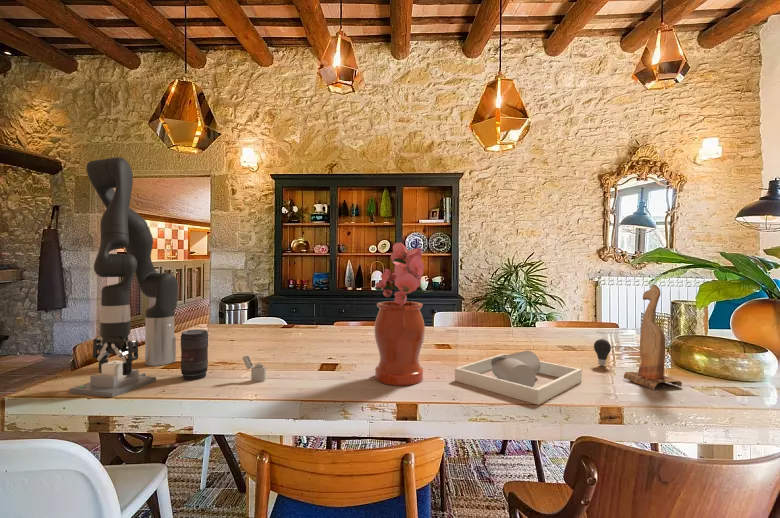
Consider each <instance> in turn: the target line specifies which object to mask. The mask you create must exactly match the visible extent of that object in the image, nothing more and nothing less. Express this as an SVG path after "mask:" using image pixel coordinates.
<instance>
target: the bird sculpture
mask: <svg viewBox="0 0 780 518" xmlns="http://www.w3.org/2000/svg"><path fill="white" fill-rule="evenodd" d="M660 297H661V289H660V287H659V286H658V285H656V284H652V285H651V287H650V289H648V290H646V291H645V292H643V294H642V300H645V301H647V300H648V301H649V303H648V305H647V307H646V309H645V312H644V315H643V319H642V323H641V327H640V340H639V341H640V342H639V358H640V360H641V363H640V366H639V368H638V370H636V371H626V372H624V374H623V379H625V380H627V381H630V382H632V383H635V384H638V385H640V386H642V387H646V388H648V389H650V390H655V388H656V387H657V385H658V384H662V383H668V384H671V385H674V386H677V387H680V388H681V387H682V385H683V382H682V381H680V380H678V379H675V378H671V377H668V376H665V361H666V340H667V339H666V336H665V334H664V332H663V329H662V328H661V327H660V326H659V325H658V324H657V322H656V313H657V312H656V311H657V307H658V303H659V299H660Z"/></svg>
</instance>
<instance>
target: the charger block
mask: <svg viewBox="0 0 780 518" xmlns="http://www.w3.org/2000/svg"><path fill="white" fill-rule="evenodd" d="M123 363H124V362H123V361H122V360H112V361H108V363H104V364H101V373H100V375H105V376H116V377H118V381H120V380H123V379H126V378H127V375H123Z"/></svg>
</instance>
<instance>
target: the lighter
mask: <svg viewBox="0 0 780 518" xmlns="http://www.w3.org/2000/svg"><path fill="white" fill-rule="evenodd" d="M242 360H243V362H244V363H243V364H244V365H245V366H246V369H247V370H250V371H251V373H250V375H251V376H250V377H251V378H250V379H251V380H250V381H251V382H254V383H255V382H257V383H258V382H261V383H264V382H265V381H266V380H267V378H266V376H267V375H266V374H267V366H264V365H263V363H255V364H253V363H252V359H251V358H250V356H249V354H247V355H244V356H243V357H242ZM254 365H255V366H254Z"/></svg>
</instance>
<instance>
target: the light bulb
mask: <svg viewBox="0 0 780 518" xmlns="http://www.w3.org/2000/svg"><path fill="white" fill-rule="evenodd" d="M593 349H594V351H595V353H596V355H597V360H598V365H600V367H604V366H606V364H607V358H608V356H609V354H610V353H611V350H612V346H611V343H610V342H609V341H608V340H606V339H603V338H600V339H597V340H596V341H594V344H593Z"/></svg>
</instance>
